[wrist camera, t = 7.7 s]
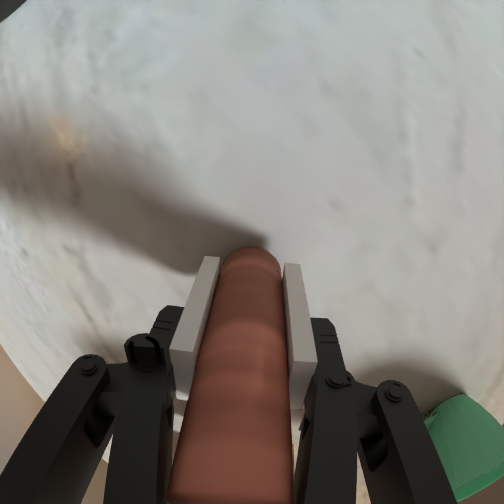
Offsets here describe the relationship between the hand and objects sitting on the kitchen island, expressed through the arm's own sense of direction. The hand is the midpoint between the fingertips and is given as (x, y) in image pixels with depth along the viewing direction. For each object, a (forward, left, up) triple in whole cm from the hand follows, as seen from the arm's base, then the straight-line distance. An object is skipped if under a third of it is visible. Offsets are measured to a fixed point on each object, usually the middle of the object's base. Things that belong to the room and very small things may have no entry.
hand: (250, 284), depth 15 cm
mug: (+15, +19, -2) cm, 24 cm away
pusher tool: (+7, 0, -1) cm, 7 cm away
